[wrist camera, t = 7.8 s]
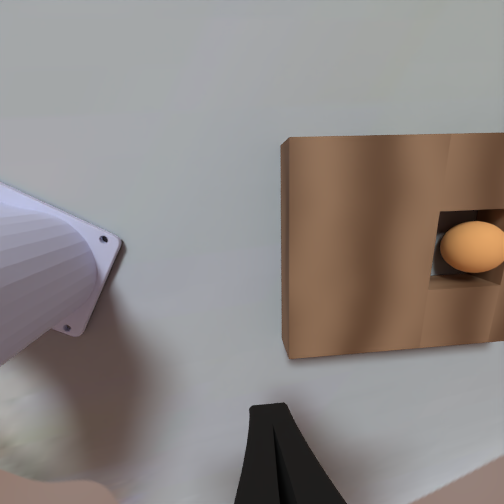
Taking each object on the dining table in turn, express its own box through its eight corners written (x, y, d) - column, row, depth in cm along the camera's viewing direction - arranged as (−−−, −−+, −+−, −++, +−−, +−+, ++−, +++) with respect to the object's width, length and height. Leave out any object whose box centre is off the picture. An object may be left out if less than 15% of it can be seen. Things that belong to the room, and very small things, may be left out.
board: (281, 337, 19) (289, 359, 17) (280, 145, 16) (289, 137, 13) (484, 321, 20) (518, 339, 18) (523, 139, 17) (571, 131, 15)
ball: (446, 246, 20) (419, 252, 18) (481, 209, 17) (452, 212, 16) (490, 278, 17) (463, 287, 16) (537, 240, 15) (509, 247, 14)
